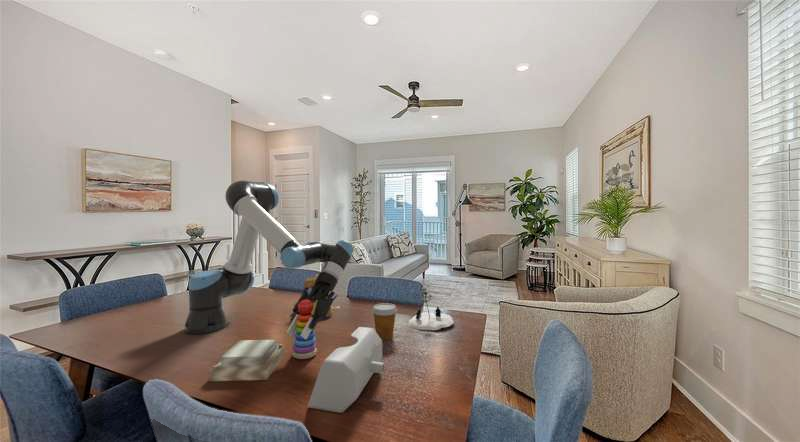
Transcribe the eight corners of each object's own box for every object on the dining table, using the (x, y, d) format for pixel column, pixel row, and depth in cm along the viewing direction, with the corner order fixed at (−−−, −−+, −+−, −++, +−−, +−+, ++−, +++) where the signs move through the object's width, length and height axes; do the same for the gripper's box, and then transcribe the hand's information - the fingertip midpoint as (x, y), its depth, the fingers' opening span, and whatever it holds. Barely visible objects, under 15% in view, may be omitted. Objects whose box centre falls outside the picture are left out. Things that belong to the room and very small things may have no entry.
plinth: (210, 381, 89) (209, 360, 89) (236, 355, 105) (236, 338, 105) (267, 379, 90) (266, 359, 90) (284, 354, 106) (284, 337, 106)
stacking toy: (309, 361, 101) (309, 304, 100) (287, 359, 102) (287, 302, 102) (320, 350, 108) (320, 297, 108) (299, 348, 110) (299, 296, 109)
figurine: (455, 316, 142) (451, 280, 142) (452, 331, 124) (448, 291, 124) (412, 317, 147) (408, 283, 146) (404, 332, 129) (399, 293, 129)
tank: (367, 420, 72) (367, 367, 72) (306, 410, 76) (305, 359, 76) (395, 368, 97) (395, 328, 96) (347, 362, 101) (347, 324, 100)
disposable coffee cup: (400, 334, 123) (400, 304, 123) (390, 344, 114) (389, 311, 114) (379, 330, 127) (379, 301, 127) (367, 339, 118) (367, 308, 118)
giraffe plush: (284, 314, 148) (284, 274, 147) (324, 303, 166) (324, 267, 166) (310, 324, 135) (310, 280, 135) (351, 310, 154) (350, 271, 153)
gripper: (353, 285, 114) (323, 346, 100) (315, 279, 123) (282, 335, 108) (344, 273, 109) (311, 335, 95) (305, 268, 118) (269, 325, 104)
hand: (296, 335), depth 102 cm, fingers closed on stacking toy, 5 cm apart
